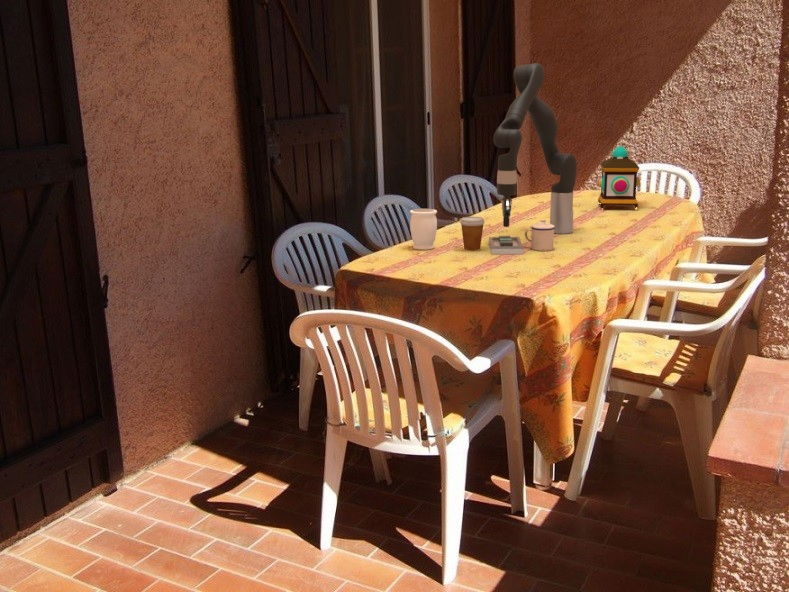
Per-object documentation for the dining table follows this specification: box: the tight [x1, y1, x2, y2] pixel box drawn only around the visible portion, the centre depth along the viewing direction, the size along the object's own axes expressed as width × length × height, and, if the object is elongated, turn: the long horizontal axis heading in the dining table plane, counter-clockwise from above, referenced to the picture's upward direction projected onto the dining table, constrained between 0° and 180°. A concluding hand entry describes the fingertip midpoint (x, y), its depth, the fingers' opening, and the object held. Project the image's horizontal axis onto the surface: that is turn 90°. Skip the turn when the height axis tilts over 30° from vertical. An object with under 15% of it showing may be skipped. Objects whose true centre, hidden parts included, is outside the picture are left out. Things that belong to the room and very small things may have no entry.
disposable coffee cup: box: [459, 216, 485, 251], centre depth 343 cm, size 10×10×12 cm
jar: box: [409, 208, 438, 251], centre depth 346 cm, size 11×10×15 cm
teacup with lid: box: [524, 218, 555, 252], centre depth 342 cm, size 12×9×12 cm
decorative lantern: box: [597, 146, 641, 209], centre depth 428 cm, size 20×20×30 cm
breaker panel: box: [488, 236, 524, 255], centre depth 343 cm, size 12×18×3 cm, turn 177°
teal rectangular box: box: [500, 238, 512, 244], centre depth 342 cm, size 4×3×2 cm
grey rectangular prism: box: [498, 235, 512, 241], centre depth 347 cm, size 4×3×2 cm
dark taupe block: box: [501, 241, 513, 246], centre depth 338 cm, size 4×3×2 cm
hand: (506, 226), depth 341 cm, fingers closed
